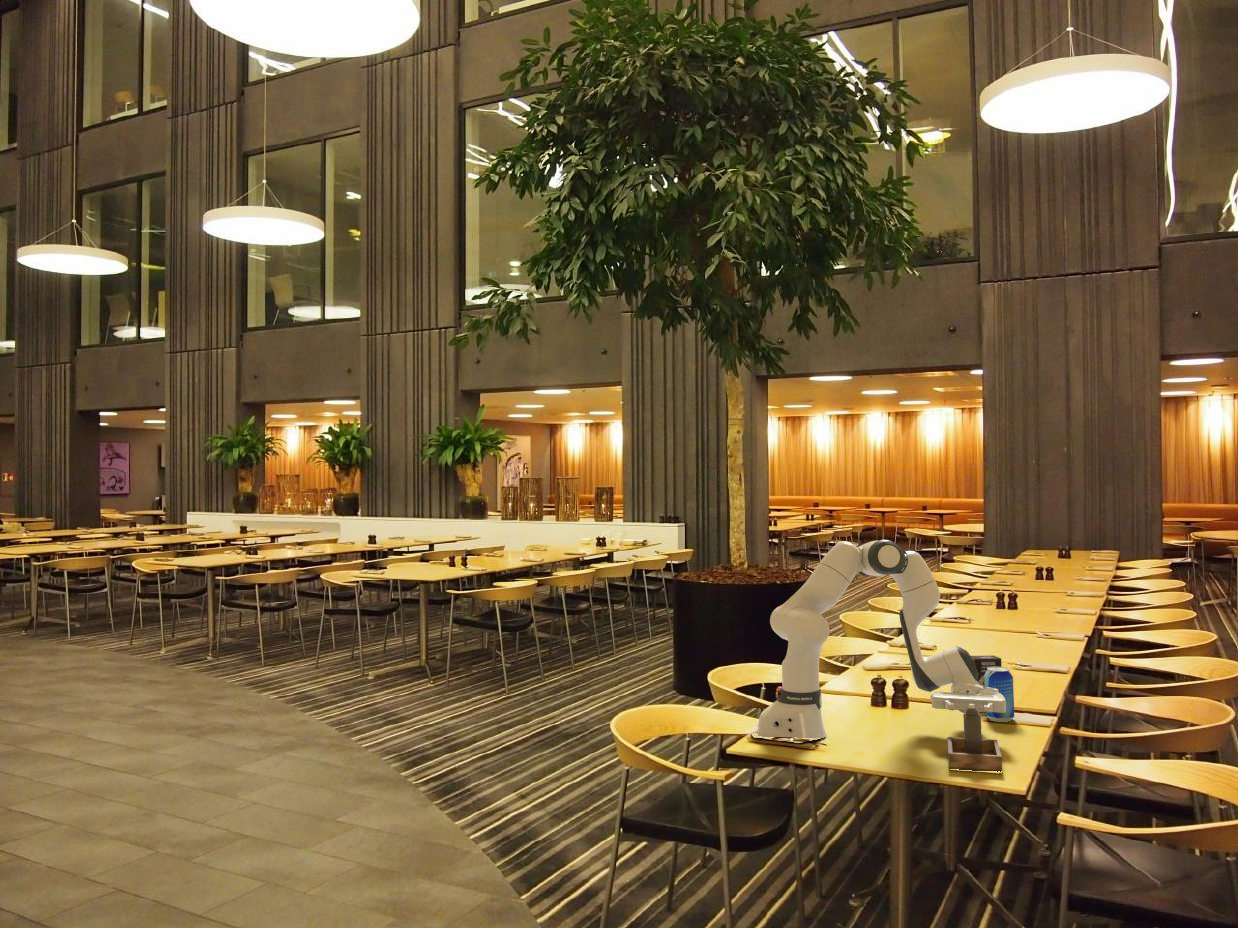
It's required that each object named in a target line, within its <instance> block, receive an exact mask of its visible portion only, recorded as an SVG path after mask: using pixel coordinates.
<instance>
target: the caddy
mask: <svg viewBox="0 0 1238 928" xmlns="http://www.w3.org/2000/svg"><path fill="white" fill-rule="evenodd" d="M946 739H947V757H948V758H947V759H948V760H949V761H948V760H947V761H948V770H949V769H959V770H972V771H997V772H998V771H1000V772H1001V771H1002V772H1003V758H1002V757H1003V756H1002V753H1001V749H1000V746H999V745H1000V744H999V742H998V739H989V738H987V739H986V738H982V754H967V753H965V742H964V737H953V736H952V737H951V736H947V738H946Z"/></svg>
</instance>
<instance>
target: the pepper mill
mask: <svg viewBox="0 0 1238 928" xmlns="http://www.w3.org/2000/svg"><path fill="white" fill-rule="evenodd" d="M962 714H963V715H962V716H963V717H962V718H963V734H964V735H963V738H964V742H965V753H967V754H982V739H983V738H982V714H980V713H979V712H978V711H977V710H976V709H975V707H974V704H969V708H968V709H967V710H966V713H962Z"/></svg>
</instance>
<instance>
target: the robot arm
mask: <svg viewBox="0 0 1238 928" xmlns="http://www.w3.org/2000/svg"><path fill="white" fill-rule="evenodd" d="M858 574H860V575H863V576H865V577H879V578H880V577H884V576H890V577H891V578H892V579H893V580H894V582H895V583H896V585H897V587H898V590H899V591H900V594H901V597H902V608H901V609H900V610H899V623H900V627H901V631H902V634H903V639H904V642H905V647H906V651H907V654H908V658H909V662H910V663H909V664H910V670H911V677H912V680H913V682H914V684H915V685H916V687H917V688H918V689H920V690H921V691H925V692H928V693H932V692H933V691H935V692H933V693H932V695H930V697H929V698H930V700H931V708H933V709H936V710H948V711H959V712H960V713H962V714H964V713H966V710H967V709H968V708H969V704H974V707H975V709H976V710H977V711H978V713H982V712H983V713H985V714H986V713H990V712H999V713H1005V712H1006V700H1005V698H1004V696H1003V695H1002V694H1000V693H999V691H998V689H996V688H990V687H985V686H981V685H979V683H978V682H977V678H978V671H977V668H976V665H975V663H974V661H973V659H972V657H971V656H972V655H971V654H970V653H969V651H967V650H966V649H964V648H963V647H961V646H957V645H956V646H953V647H951V648H948V649H945V650H942V651H941V652H940V651H939V652H937V653H935V654H931V655H929V656H923V654H922V651H921V646H920V642H919V638H918V635H917V630H918V626H919V625H920V624H921V623H922V622H923V620H925V619H926V618H927V617H928V616H929V615H930V614H932V612H934V610H936V608H937V607H938V605H939V603H940V600H941V591H940V590H939V589H940V588H939V587H938V584H937V583H938V582H937V581H936V579H935V577H934V575H933V573H932V571H931V569H930V567H929V566H928V565H927V563H926V560H924V558H923V557H922V555H921V554H920V553H919V552H917V551H915V550H904V549H902V548H901V547H900V546H899V545H898V544H897V543H896V542H893V541H891V540H889V539H880V540H872V541H868V542H866V543H865V542H864V543H862V544H860V545H858V546H857V545H855V544H854V543H852V542H848V541H839V542H837V543H836V544H834V546H833V547H831V549H830V550H829V551H828V552H826V554H825V555H824V556H823V557H822V559H821V560H820V562H819V563H818V564H817V565H816V567H815V568H814V570H813V572H812V573H811V574H810V576H809V577H808V579H807V580H806V581H805V582H804V584H803V585H802V586H801V587H800V588H799V589H798V590H797V591H796V592H795V593H794V594H793V595H791V596H790V597H789V599H787V600H786V601H785V602H784V603H783V604H781V605H779V606H777V607H776V608H775V609H774V610H773V611H772V612H771V614H770V618H769V624H770V626H771V629H772V631H773V632H774V633H775V634H776V635H777V636H779V637H780V638H781V639H783V640H786V641H787V642H788V643H787V650H786V655H785V658H784V659H783V660H782V662H781V679H782V681H781V683H782V684H781V685H782V686H778V687H777V688H776V691H775V699H776V700H775V701H773V702H772V703H771V704H770V705H769V706H768V707H766V708H765V709H764V710H762V712H761V714H760V716H759V717H758V725H755V726H754V727H753V728H752V729H751V734H754V733H757V734H758V736H762V737H797V738H824V737H825V738H826V737H827V733H826V730H825V726H824V722H823V717H822V709H821V708H822V706H823V704H822V703H823V702H822V701H823V700H822V699H823V698H822V692H821V691H822V690H821V688H820V658H821V653H822V649H823V647H824V644H825V643H826V641H827V640H828V638H829V635H830V625H829V622H828V619H826V618H825V617H824V616H823V614H824V613H825V612H827V611H828V610H829V609H831V608H833V607H834V606H836V605H837V604H838V602H839V600H840V599H841V598H842V596H843V594H844V593H845V592H846V590H847V588H848V587H849V586H850V584H851V583H852V581H853V580H854V578H855V577H856V576H857V575H858ZM950 684H951V687H950V691H949V692H948V691H936V690H938V689H940V688H941V687H942V688H943V687H944V686H947V685H950ZM751 734H750V735H751ZM825 738H824V739H825Z"/></svg>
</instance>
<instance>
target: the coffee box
mask: <svg viewBox="0 0 1238 928" xmlns="http://www.w3.org/2000/svg"><path fill="white" fill-rule="evenodd" d="M970 656H971V657H972V659H973V661H974V663H975V665H976V668H977V671H978V678H977V682H978V683H979V685H981V686H985V679H984V675H985V673H986V671H987V670H988V669H987V668H988V667H1002V658H1001V657H999V656H997V655H993V654H992V655H970Z"/></svg>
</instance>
